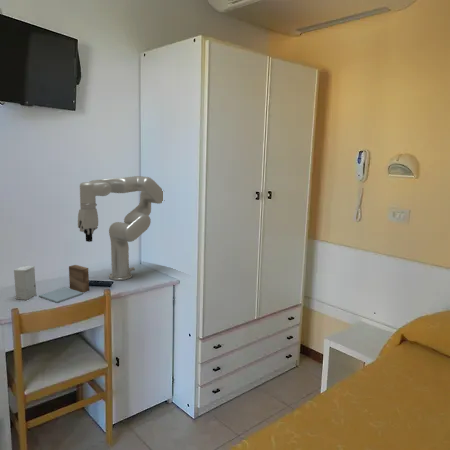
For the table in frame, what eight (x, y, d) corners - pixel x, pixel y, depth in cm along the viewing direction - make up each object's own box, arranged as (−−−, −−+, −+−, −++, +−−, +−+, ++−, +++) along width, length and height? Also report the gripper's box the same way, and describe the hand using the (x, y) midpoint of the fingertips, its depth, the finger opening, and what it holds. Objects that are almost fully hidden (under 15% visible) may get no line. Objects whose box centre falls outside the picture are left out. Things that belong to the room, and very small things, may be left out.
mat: (64, 288, 220) (64, 287, 220) (83, 294, 213) (83, 292, 213) (39, 296, 207) (38, 295, 207) (57, 303, 200) (57, 301, 200)
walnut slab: (76, 286, 224) (75, 264, 221) (89, 290, 218) (88, 268, 216) (69, 288, 220) (68, 266, 218) (82, 292, 215) (81, 269, 213)
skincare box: (26, 300, 203) (24, 270, 200) (15, 299, 203) (13, 269, 201) (36, 294, 211) (35, 265, 208) (25, 293, 212) (23, 264, 209)
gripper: (94, 204, 225) (95, 237, 229) (71, 207, 213) (72, 242, 216) (104, 205, 222) (105, 239, 225) (81, 208, 209) (82, 245, 213)
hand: (89, 241), depth 221 cm, fingers closed
